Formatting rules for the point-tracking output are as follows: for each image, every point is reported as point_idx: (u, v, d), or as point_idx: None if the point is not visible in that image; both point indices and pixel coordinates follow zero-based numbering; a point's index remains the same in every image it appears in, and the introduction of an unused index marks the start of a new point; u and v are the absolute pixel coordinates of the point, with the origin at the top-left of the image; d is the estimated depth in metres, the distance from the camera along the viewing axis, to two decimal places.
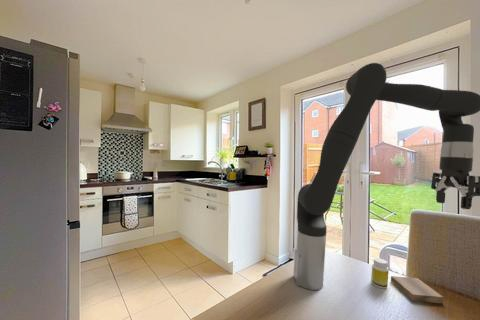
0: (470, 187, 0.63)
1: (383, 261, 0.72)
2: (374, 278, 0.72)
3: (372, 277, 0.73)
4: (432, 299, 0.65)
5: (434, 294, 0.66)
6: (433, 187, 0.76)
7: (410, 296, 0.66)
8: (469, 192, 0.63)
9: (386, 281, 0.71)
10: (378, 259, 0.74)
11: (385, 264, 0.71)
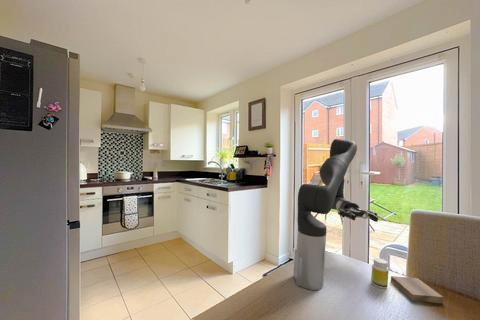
0: (372, 211, 0.90)
1: (383, 261, 0.72)
2: (374, 278, 0.72)
3: (372, 277, 0.73)
4: (432, 299, 0.65)
5: (434, 294, 0.66)
6: (344, 211, 0.89)
7: (410, 296, 0.66)
8: (374, 212, 0.89)
9: (386, 281, 0.71)
10: (378, 259, 0.74)
11: (385, 264, 0.71)
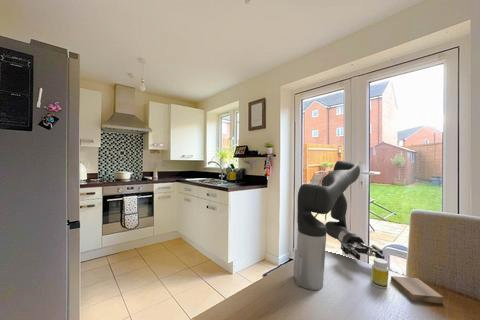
0: (378, 248, 0.85)
1: (383, 261, 0.72)
2: (374, 278, 0.72)
3: (372, 277, 0.73)
4: (432, 299, 0.65)
5: (434, 294, 0.66)
6: (348, 248, 0.84)
7: (410, 296, 0.66)
8: (380, 249, 0.83)
9: (386, 281, 0.71)
10: (378, 259, 0.74)
11: (385, 264, 0.71)
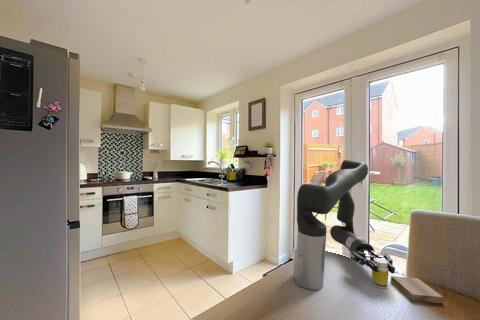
0: (389, 257, 0.77)
1: (383, 261, 0.72)
2: (374, 278, 0.72)
3: (372, 277, 0.73)
4: (432, 299, 0.65)
5: (434, 294, 0.66)
6: (363, 258, 0.75)
7: (410, 296, 0.66)
8: (389, 259, 0.75)
9: (386, 281, 0.71)
10: (378, 259, 0.74)
11: (385, 264, 0.71)
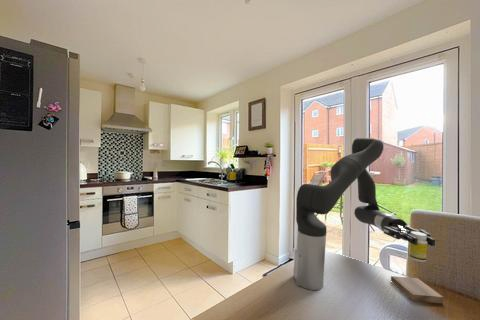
0: (425, 232, 0.73)
1: (421, 234, 0.69)
2: (412, 251, 0.69)
3: (409, 251, 0.70)
4: (432, 299, 0.65)
5: (434, 294, 0.66)
6: (399, 231, 0.72)
7: (410, 296, 0.66)
8: (427, 233, 0.72)
9: (425, 254, 0.68)
10: (415, 232, 0.70)
11: (424, 236, 0.68)
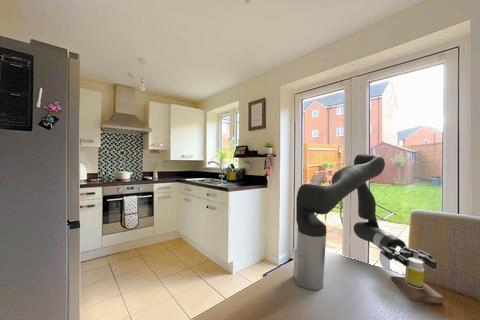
0: (425, 252, 0.74)
1: (418, 261, 0.69)
2: (409, 278, 0.69)
3: (406, 278, 0.70)
4: (432, 299, 0.65)
5: (434, 294, 0.66)
6: (391, 252, 0.73)
7: (410, 296, 0.66)
8: (428, 254, 0.73)
9: (422, 282, 0.68)
10: (412, 259, 0.71)
11: (421, 264, 0.68)
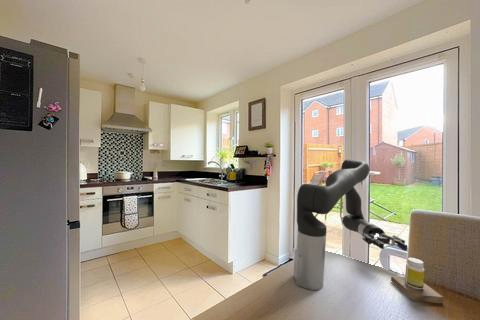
0: (399, 238, 0.87)
1: (418, 261, 0.69)
2: (409, 278, 0.69)
3: (406, 278, 0.70)
4: (432, 299, 0.65)
5: (434, 294, 0.66)
6: (370, 238, 0.86)
7: (410, 296, 0.66)
8: (402, 239, 0.86)
9: (422, 282, 0.68)
10: (412, 259, 0.71)
11: (421, 264, 0.68)
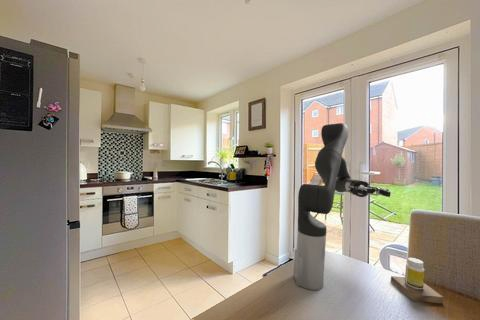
0: None
1: (418, 261, 0.69)
2: (409, 278, 0.69)
3: (406, 278, 0.70)
4: (432, 299, 0.65)
5: (434, 294, 0.66)
6: (355, 187, 0.88)
7: (410, 296, 0.66)
8: (386, 189, 0.87)
9: (422, 282, 0.68)
10: (412, 259, 0.71)
11: (421, 264, 0.68)
